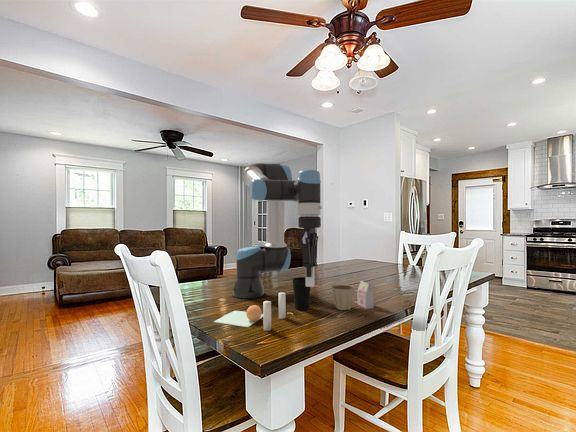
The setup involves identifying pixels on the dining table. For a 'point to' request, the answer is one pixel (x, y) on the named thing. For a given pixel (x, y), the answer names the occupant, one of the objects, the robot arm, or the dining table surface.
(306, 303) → the cup
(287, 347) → the dining table surface
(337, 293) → the flower pot
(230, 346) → the dining table surface
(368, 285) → the milk carton
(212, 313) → the dining table surface
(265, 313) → the left post
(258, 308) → the ball
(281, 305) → the right post
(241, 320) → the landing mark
